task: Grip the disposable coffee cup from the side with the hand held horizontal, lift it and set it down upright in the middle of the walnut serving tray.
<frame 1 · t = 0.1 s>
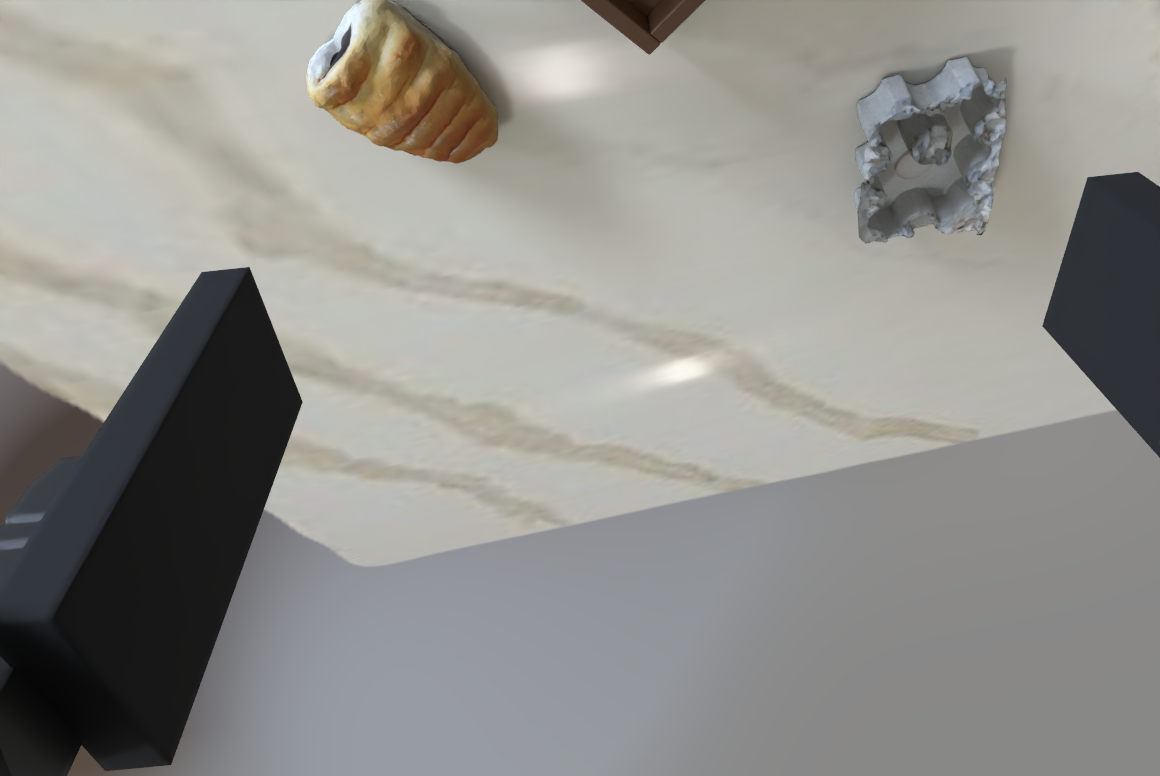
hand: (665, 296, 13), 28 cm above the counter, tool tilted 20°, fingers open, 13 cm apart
pastry: (404, 67, 41), on the counter
egg carton: (911, 137, 47), on the counter
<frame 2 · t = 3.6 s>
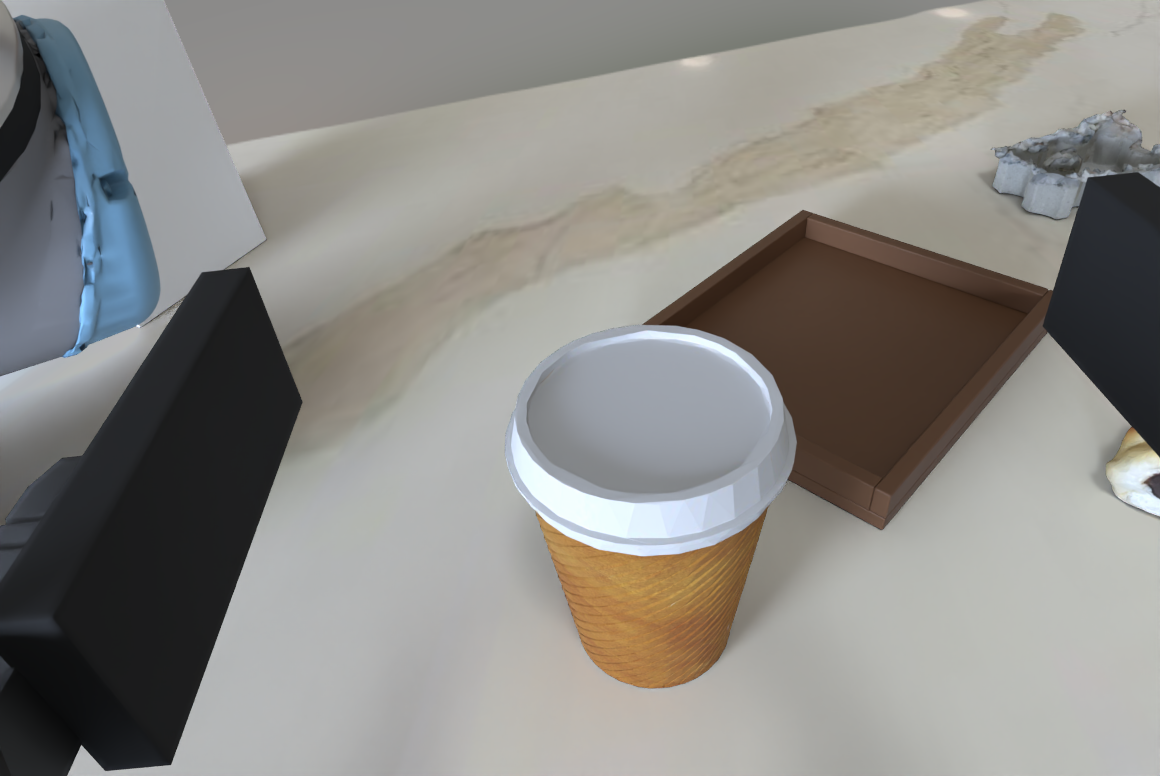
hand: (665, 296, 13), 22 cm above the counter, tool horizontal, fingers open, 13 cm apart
milk: (152, 268, 60), on the counter
egg carton: (1074, 193, 58), on the counter
disposable coffee cup: (653, 621, 34), on the counter
serving tray: (832, 354, 46), on the counter
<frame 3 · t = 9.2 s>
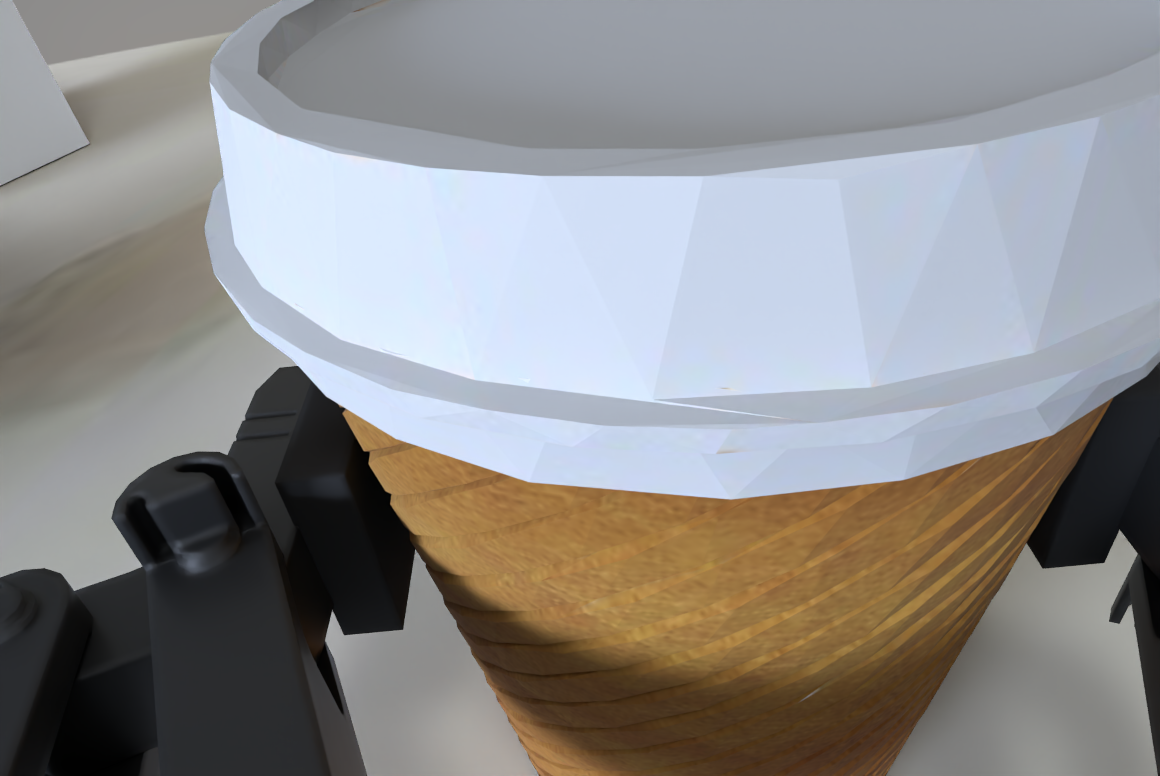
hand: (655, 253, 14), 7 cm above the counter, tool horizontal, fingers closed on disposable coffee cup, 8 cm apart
disposable coffee cup: (700, 708, 15), on the counter, touching gripper
when the fingers open (7 cm above the counter, at t = 17.5 s): disposable coffee cup stays where it is, resting on serving tray.
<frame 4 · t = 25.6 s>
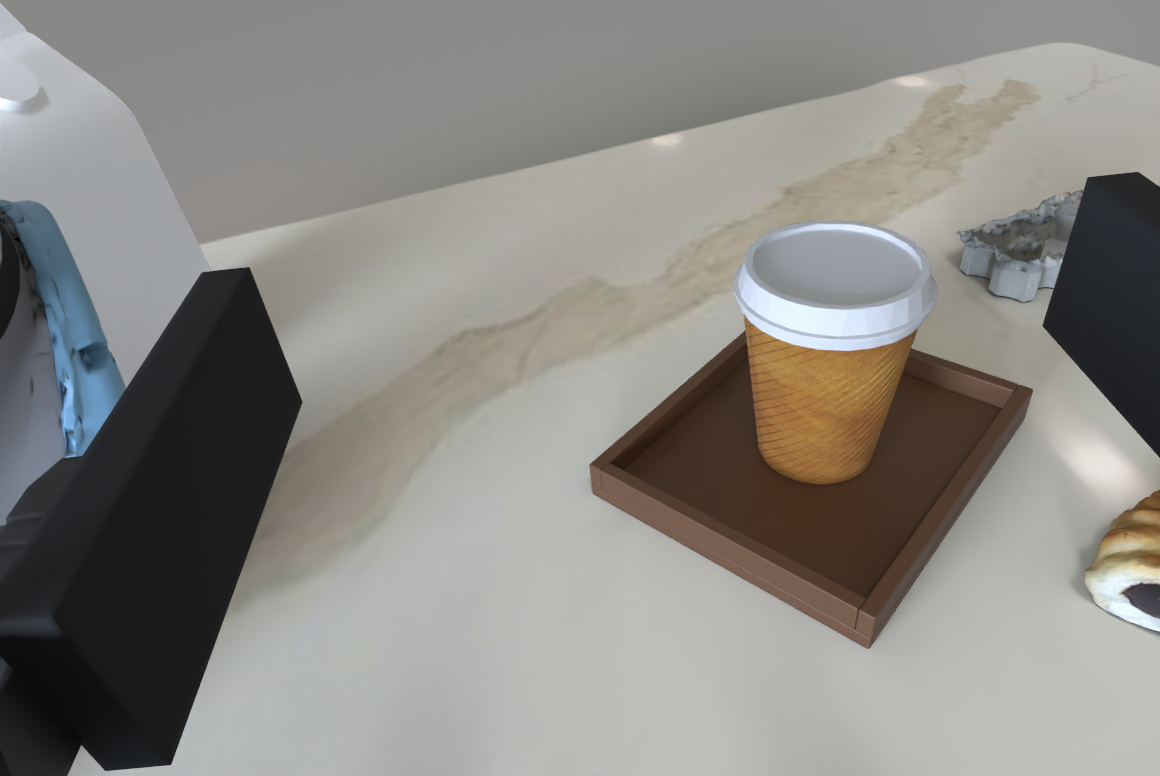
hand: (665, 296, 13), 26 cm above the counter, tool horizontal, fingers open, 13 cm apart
milk: (134, 381, 60), on the counter
egg carton: (1038, 272, 60), on the counter
disposable coffee cup: (813, 448, 46), point 1 cm above the counter, touching serving tray
serving tray: (811, 456, 47), on the counter
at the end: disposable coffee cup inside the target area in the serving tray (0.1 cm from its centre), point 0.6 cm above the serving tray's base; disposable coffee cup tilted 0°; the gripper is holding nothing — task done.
